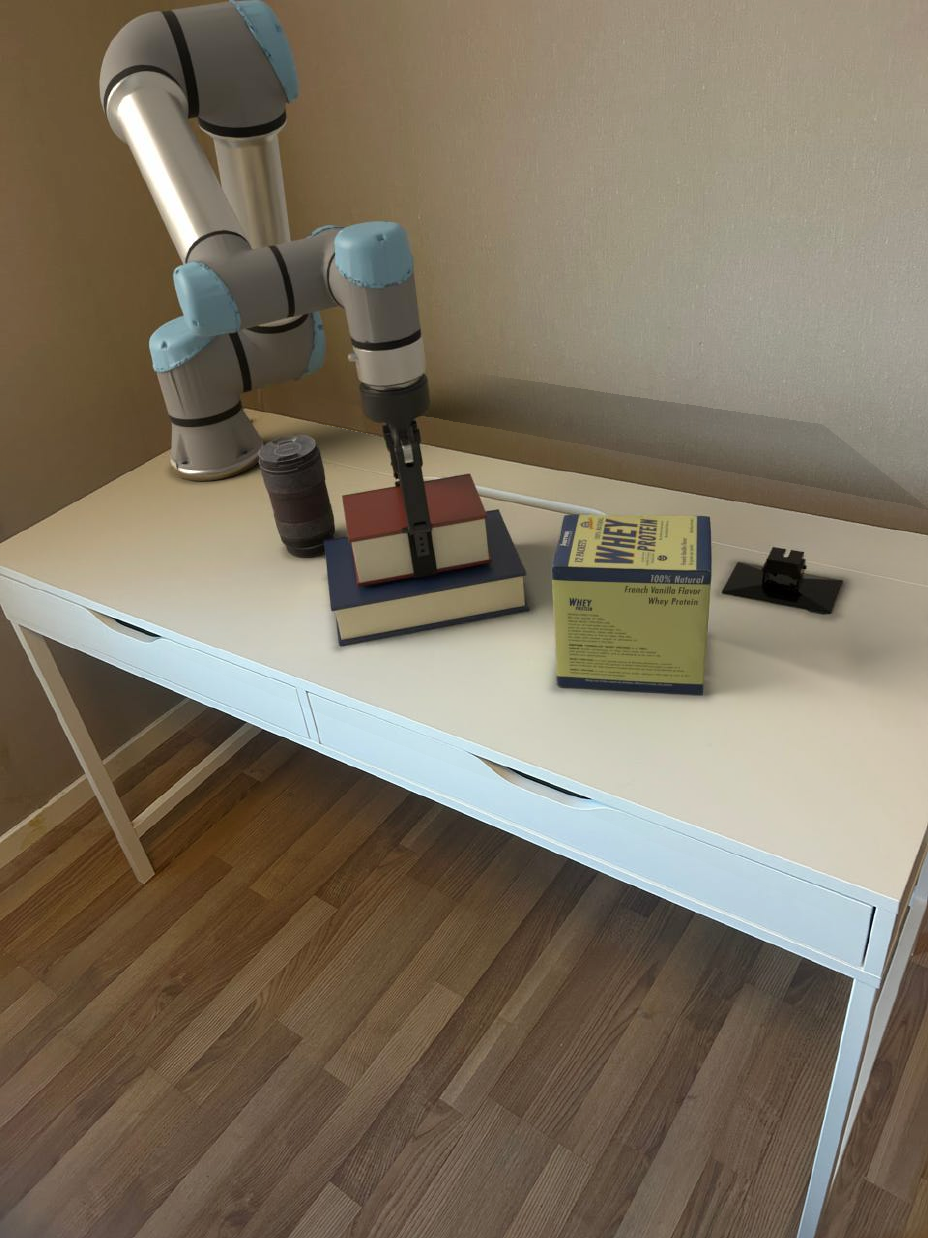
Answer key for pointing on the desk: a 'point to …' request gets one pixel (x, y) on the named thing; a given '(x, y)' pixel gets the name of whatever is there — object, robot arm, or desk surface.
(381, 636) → the encyclopedia
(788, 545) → the desk surface
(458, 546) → the dictionary
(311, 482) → the camera lens
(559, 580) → the protein box
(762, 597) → the build plate
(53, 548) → the desk surface
